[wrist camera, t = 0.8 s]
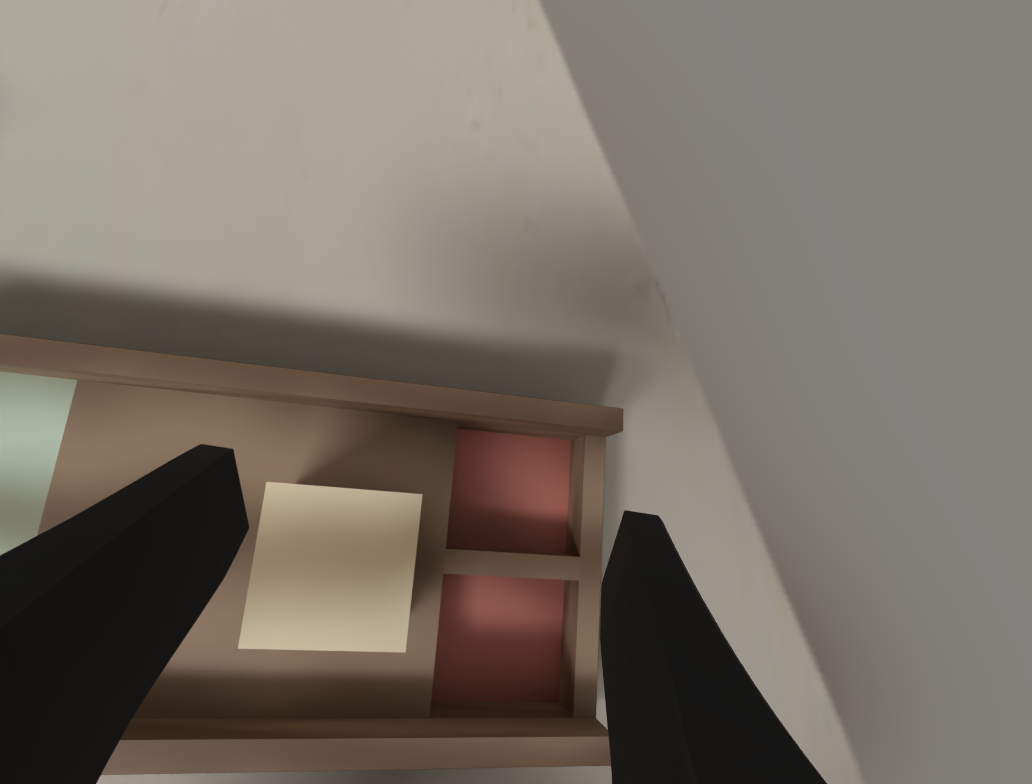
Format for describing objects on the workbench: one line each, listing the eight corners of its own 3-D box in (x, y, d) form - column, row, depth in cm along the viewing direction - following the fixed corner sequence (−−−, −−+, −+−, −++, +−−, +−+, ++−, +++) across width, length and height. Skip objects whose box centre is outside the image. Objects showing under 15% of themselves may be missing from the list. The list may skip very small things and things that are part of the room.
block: (401, 623, 23) (405, 652, 18) (270, 618, 22) (238, 648, 17) (415, 498, 24) (422, 494, 19) (291, 488, 23) (266, 482, 18)
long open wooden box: (575, 723, 26) (613, 765, 21) (-235, 724, 20) (-409, 784, 15) (587, 424, 29) (623, 408, 25) (-106, 346, 23) (-220, 307, 18)
